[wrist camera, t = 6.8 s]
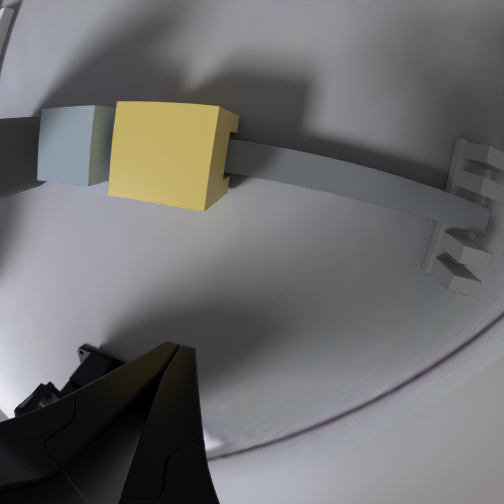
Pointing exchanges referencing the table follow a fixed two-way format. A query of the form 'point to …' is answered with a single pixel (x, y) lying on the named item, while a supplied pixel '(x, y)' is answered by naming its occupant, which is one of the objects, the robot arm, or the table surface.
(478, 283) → the grey boxy piece
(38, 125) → the bottle
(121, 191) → the pale yellow cube
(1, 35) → the mounting plate
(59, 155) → the grey long bar
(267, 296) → the table surface
